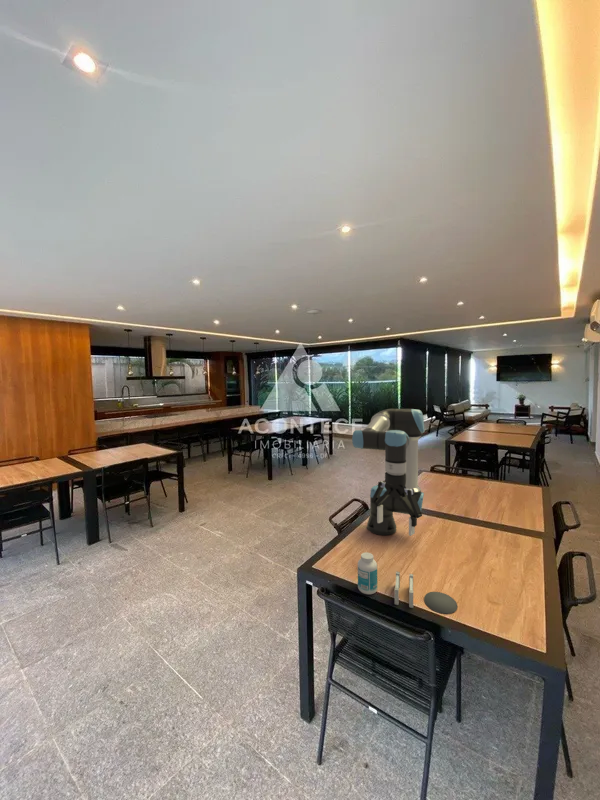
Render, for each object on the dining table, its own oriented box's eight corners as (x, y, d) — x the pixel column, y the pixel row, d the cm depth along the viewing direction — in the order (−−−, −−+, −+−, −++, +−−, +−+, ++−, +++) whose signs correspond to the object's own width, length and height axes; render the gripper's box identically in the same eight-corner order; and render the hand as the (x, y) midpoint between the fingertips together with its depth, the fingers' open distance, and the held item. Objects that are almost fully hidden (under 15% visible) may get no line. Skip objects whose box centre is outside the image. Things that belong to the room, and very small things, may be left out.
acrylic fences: (395, 584, 129) (395, 571, 128) (413, 588, 127) (413, 574, 126) (394, 604, 118) (394, 589, 117) (413, 608, 116) (413, 593, 115)
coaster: (423, 590, 125) (423, 589, 125) (455, 596, 122) (455, 594, 122) (424, 609, 115) (424, 608, 115) (459, 616, 111) (459, 615, 111)
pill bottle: (374, 582, 130) (374, 550, 129) (379, 595, 123) (379, 560, 122) (355, 583, 130) (355, 550, 129) (359, 595, 123) (359, 561, 122)
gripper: (362, 467, 129) (362, 520, 130) (421, 482, 110) (420, 543, 111) (374, 464, 133) (374, 514, 135) (432, 477, 114) (431, 536, 116)
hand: (395, 528), depth 123 cm, fingers open, 13 cm apart
